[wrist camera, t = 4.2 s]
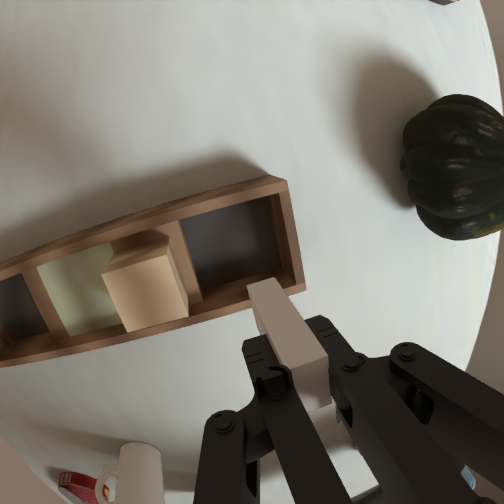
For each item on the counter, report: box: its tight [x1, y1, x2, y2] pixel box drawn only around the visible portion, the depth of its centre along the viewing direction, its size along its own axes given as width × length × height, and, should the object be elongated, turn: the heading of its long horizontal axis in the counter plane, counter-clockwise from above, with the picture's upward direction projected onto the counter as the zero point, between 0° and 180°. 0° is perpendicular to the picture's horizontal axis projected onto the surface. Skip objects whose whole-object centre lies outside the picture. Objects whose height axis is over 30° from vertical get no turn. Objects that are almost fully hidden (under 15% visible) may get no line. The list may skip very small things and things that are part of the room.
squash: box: [400, 94, 504, 241], centre depth 24 cm, size 14×15×15 cm
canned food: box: [58, 472, 109, 504], centre depth 34 cm, size 11×10×10 cm
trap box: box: [0, 175, 306, 368], centre depth 25 cm, size 34×10×4 cm, turn 103°
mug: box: [95, 442, 165, 504], centre depth 30 cm, size 10×7×12 cm, turn 91°
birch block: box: [101, 236, 189, 332], centre depth 23 cm, size 5×5×4 cm
